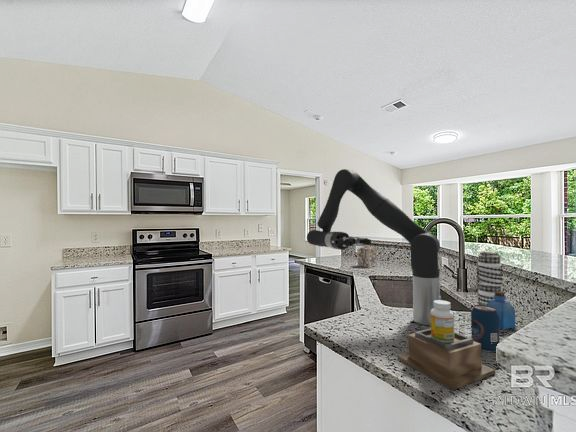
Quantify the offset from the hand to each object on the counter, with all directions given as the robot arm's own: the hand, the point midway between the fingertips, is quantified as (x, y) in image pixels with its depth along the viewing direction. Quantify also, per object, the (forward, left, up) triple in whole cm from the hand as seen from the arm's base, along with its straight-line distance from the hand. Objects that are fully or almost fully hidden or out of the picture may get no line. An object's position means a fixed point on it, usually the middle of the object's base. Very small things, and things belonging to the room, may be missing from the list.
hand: (361, 242), depth 108 cm
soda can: (-19, +33, -30) cm, 49 cm away
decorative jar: (-90, -104, -30) cm, 141 cm away
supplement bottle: (+2, +35, -23) cm, 42 cm away
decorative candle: (-56, +13, -30) cm, 65 cm away
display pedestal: (+2, +35, -30) cm, 46 cm away
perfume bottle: (-43, +24, -30) cm, 58 cm away
